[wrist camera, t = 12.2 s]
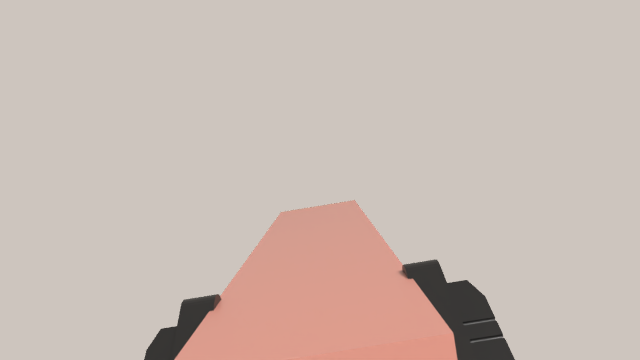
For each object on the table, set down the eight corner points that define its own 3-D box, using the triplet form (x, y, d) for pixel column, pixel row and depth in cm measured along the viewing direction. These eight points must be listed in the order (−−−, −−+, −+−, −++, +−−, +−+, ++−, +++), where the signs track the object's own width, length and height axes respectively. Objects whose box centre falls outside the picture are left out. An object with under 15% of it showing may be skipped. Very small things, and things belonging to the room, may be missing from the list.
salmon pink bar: (366, 273, 29) (354, 200, 29) (497, 616, 7) (453, 332, 7) (293, 284, 29) (281, 212, 29) (209, 661, 8) (159, 380, 7)
